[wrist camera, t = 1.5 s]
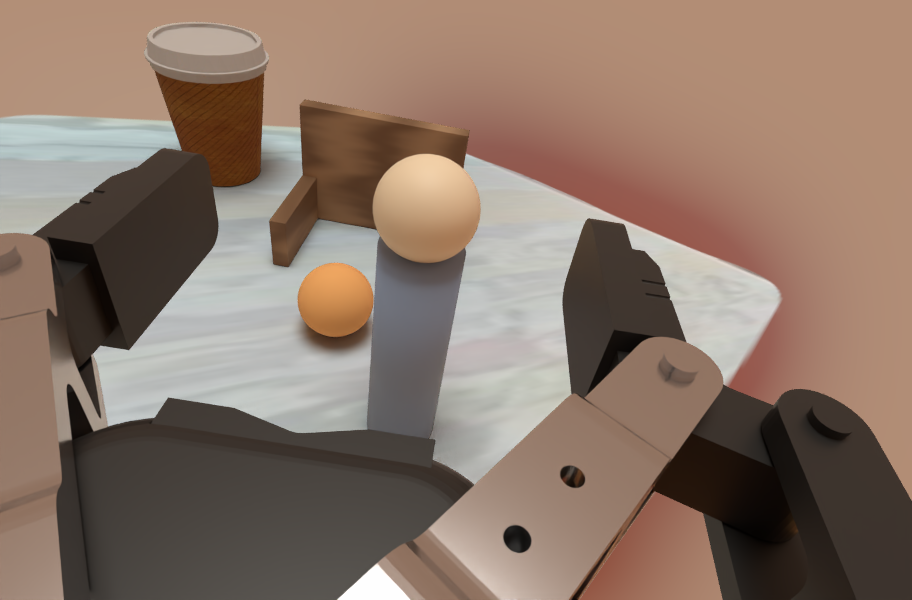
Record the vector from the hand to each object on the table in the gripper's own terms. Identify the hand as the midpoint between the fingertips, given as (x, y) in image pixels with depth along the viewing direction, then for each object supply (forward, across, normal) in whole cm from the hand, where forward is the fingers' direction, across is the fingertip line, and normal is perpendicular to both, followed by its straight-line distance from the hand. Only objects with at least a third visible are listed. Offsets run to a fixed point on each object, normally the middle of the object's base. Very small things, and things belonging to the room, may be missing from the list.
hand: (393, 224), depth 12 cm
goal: (+27, +6, +20) cm, 34 cm away
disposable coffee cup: (+36, +22, +20) cm, 47 cm away
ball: (+18, +6, +18) cm, 26 cm away
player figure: (+11, 0, +20) cm, 23 cm away
